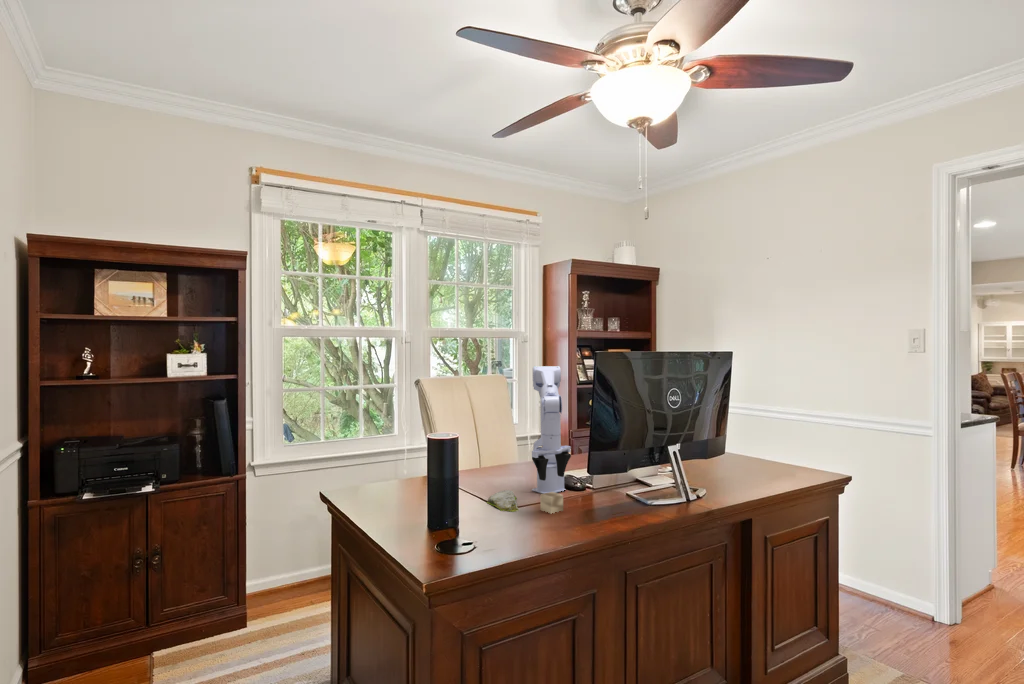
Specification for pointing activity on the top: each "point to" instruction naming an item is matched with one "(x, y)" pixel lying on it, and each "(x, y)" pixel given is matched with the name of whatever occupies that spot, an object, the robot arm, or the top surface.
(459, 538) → the top surface
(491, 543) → the top surface
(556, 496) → the beech block
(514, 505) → the decorative stone
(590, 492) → the top surface
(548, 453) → the robot arm
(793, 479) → the top surface
